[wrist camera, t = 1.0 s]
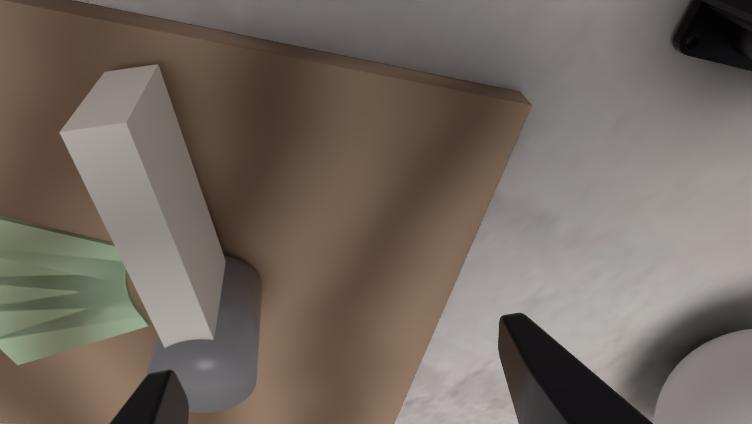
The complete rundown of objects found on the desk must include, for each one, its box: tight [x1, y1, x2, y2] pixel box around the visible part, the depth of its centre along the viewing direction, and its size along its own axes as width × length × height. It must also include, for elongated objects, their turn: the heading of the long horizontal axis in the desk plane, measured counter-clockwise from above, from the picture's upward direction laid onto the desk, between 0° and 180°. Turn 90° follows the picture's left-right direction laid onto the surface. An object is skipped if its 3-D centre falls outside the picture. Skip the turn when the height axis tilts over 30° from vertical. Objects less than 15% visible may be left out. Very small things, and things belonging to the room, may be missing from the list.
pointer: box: [59, 64, 262, 413], centre depth 18 cm, size 11×4×4 cm, turn 6°
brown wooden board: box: [0, 0, 532, 424], centre depth 23 cm, size 20×20×1 cm
